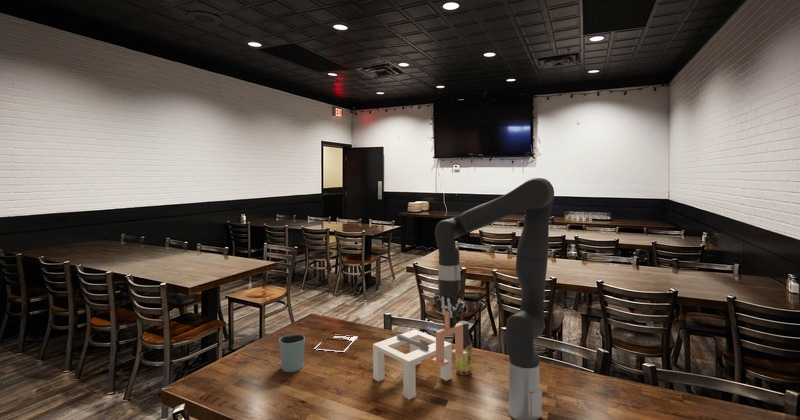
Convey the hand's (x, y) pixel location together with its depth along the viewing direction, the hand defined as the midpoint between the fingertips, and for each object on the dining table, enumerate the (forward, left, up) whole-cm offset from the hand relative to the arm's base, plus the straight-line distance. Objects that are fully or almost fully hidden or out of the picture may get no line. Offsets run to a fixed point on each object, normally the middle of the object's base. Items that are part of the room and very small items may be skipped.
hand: (449, 326), depth 139 cm
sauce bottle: (+7, -16, -25) cm, 30 cm away
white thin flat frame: (+65, +5, -25) cm, 70 cm away
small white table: (+17, +2, -24) cm, 30 cm away
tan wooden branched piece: (0, 0, -11) cm, 11 cm away
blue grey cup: (+57, +31, -25) cm, 69 cm away
